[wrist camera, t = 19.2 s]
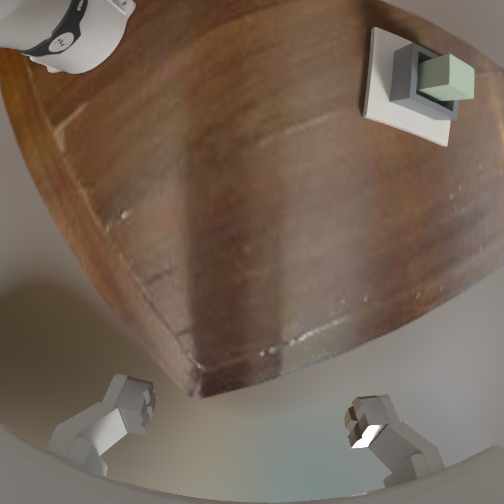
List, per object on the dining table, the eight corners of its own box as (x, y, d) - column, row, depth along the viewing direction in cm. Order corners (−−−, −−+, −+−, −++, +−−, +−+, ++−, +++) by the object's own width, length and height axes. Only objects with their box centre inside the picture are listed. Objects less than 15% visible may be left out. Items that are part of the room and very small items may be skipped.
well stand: (442, 145, 37) (469, 150, 30) (362, 117, 36) (383, 113, 29) (448, 65, 31) (474, 59, 24) (371, 29, 30) (391, 14, 23)
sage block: (425, 102, 33) (473, 98, 22) (402, 93, 33) (449, 84, 22) (427, 78, 31) (474, 69, 20) (404, 68, 31) (449, 53, 20)
